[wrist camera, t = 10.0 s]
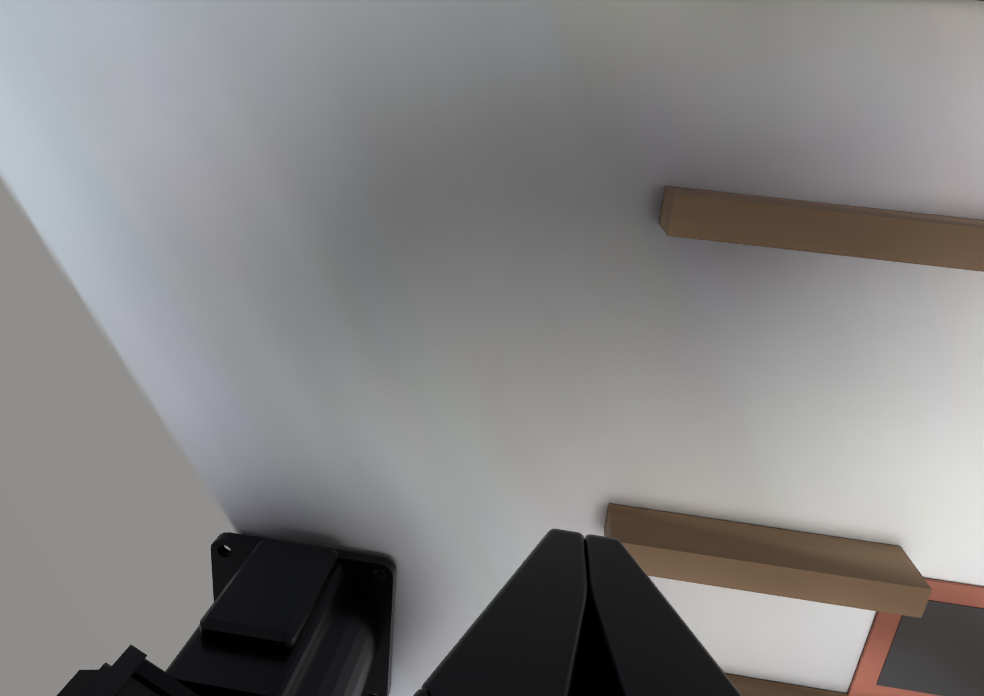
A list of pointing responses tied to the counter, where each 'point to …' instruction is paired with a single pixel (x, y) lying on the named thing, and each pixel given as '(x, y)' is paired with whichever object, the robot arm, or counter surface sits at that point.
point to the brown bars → (811, 557)
